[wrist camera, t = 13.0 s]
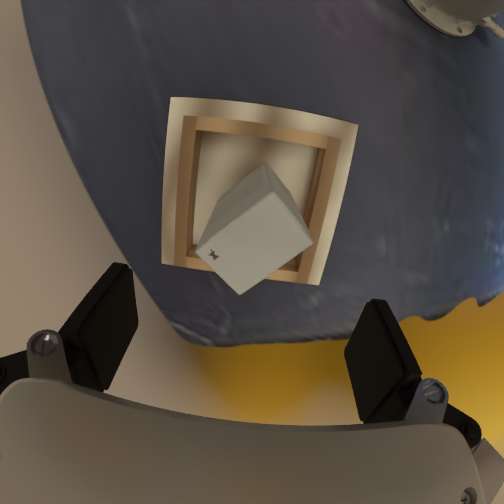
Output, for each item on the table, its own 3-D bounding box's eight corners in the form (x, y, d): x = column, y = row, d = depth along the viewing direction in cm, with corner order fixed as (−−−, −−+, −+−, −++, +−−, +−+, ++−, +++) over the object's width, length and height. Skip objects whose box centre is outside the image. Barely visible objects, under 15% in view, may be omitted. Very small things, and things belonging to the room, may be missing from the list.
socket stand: (353, 124, 25) (369, 126, 21) (316, 278, 33) (323, 300, 29) (175, 98, 24) (160, 94, 20) (165, 257, 32) (153, 277, 28)
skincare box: (245, 229, 29) (237, 298, 18) (217, 198, 27) (190, 252, 16) (293, 192, 27) (316, 244, 16) (266, 159, 25) (271, 187, 15)
